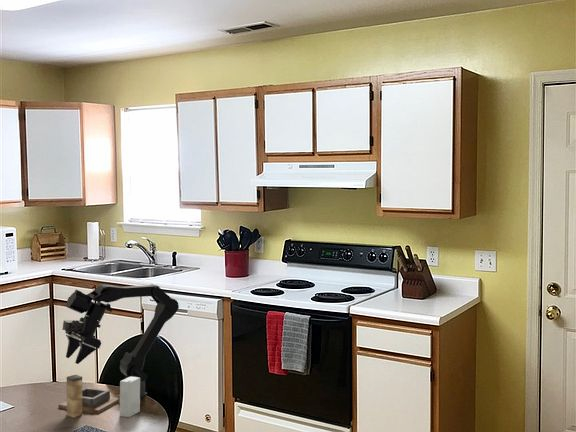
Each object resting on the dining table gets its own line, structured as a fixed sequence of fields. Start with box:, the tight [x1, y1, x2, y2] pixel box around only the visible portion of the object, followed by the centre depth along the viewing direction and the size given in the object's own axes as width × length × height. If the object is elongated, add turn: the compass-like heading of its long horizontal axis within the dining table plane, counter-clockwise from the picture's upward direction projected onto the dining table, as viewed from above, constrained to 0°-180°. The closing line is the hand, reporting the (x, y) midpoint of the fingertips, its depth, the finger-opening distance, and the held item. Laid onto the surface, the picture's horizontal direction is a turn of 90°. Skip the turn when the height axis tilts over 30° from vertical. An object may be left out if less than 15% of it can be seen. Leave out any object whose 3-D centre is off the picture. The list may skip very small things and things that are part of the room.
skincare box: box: [119, 376, 141, 418], centre depth 221 cm, size 6×4×12 cm
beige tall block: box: [66, 374, 83, 418], centre depth 219 cm, size 4×4×13 cm
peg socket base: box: [58, 387, 120, 415], centre depth 229 cm, size 16×13×4 cm
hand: (71, 360), depth 225 cm, fingers open, 9 cm apart
